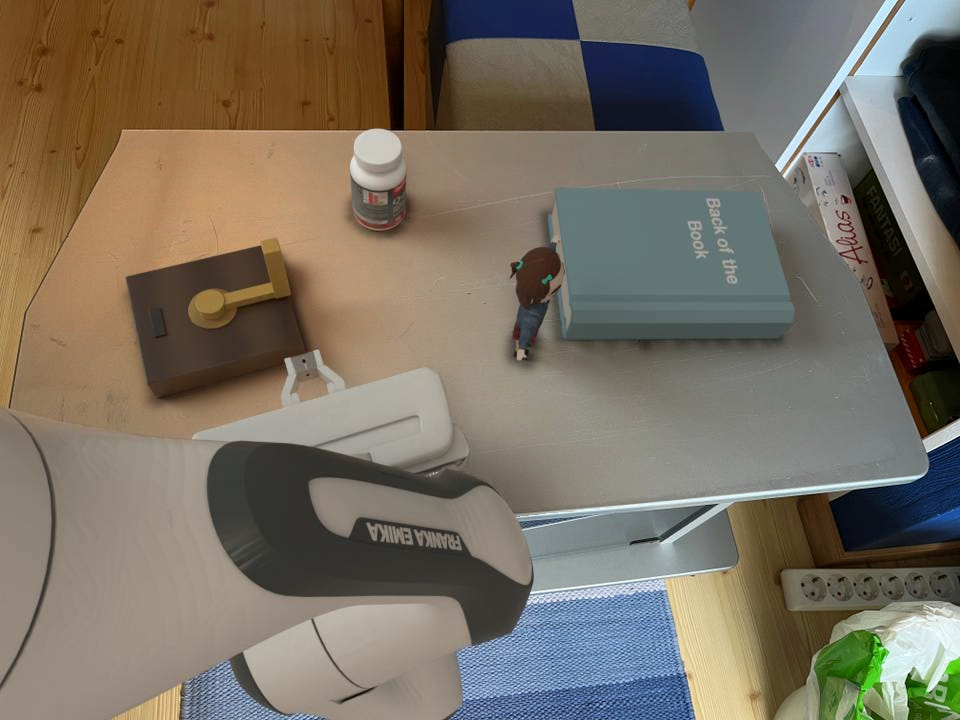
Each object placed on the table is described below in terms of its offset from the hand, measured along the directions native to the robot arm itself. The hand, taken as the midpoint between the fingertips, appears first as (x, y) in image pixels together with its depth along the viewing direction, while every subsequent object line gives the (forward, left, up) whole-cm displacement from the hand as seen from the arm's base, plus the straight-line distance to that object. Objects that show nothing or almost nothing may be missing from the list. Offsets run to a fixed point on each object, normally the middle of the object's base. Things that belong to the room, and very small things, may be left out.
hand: (302, 356), depth 61 cm
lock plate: (-6, +11, -9) cm, 16 cm away
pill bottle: (+13, +20, -10) cm, 25 cm away
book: (+39, +3, -10) cm, 40 cm away
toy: (+21, 0, -10) cm, 23 cm away
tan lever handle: (-3, +11, -6) cm, 13 cm away
